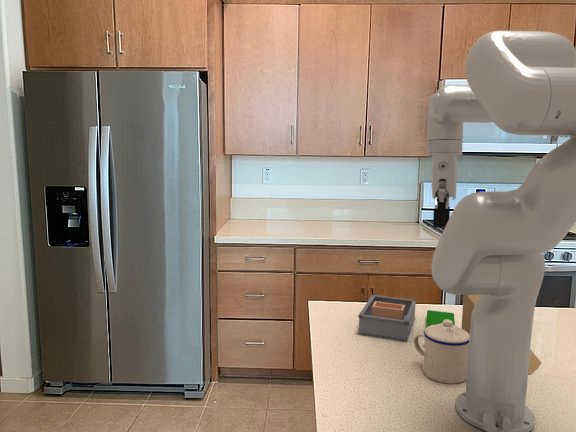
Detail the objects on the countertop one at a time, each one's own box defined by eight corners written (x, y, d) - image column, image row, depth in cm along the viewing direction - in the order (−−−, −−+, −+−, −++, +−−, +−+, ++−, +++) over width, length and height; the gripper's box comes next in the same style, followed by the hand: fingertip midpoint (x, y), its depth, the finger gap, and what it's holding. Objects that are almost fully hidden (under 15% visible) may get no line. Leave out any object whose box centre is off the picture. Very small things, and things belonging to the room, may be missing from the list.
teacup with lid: (475, 375, 93) (479, 321, 91) (454, 390, 86) (458, 333, 85) (423, 355, 101) (426, 306, 100) (401, 368, 95) (404, 316, 94)
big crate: (407, 342, 109) (408, 322, 108) (357, 334, 113) (358, 315, 112) (415, 317, 125) (416, 300, 125) (371, 311, 130) (372, 294, 129)
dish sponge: (453, 320, 125) (453, 312, 124) (455, 339, 112) (455, 330, 111) (426, 317, 127) (427, 309, 127) (425, 335, 114) (425, 326, 114)
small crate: (402, 328, 116) (402, 310, 115) (371, 324, 119) (372, 306, 118) (404, 322, 120) (405, 305, 119) (374, 318, 123) (375, 301, 122)
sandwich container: (531, 376, 92) (537, 307, 90) (459, 353, 103) (463, 291, 101) (543, 363, 99) (549, 298, 97) (473, 342, 109) (477, 283, 107)
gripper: (462, 146, 90) (459, 230, 92) (461, 151, 106) (458, 222, 108) (424, 147, 93) (421, 228, 94) (428, 151, 109) (426, 221, 110)
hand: (441, 225), depth 101 cm, fingers open, 9 cm apart
